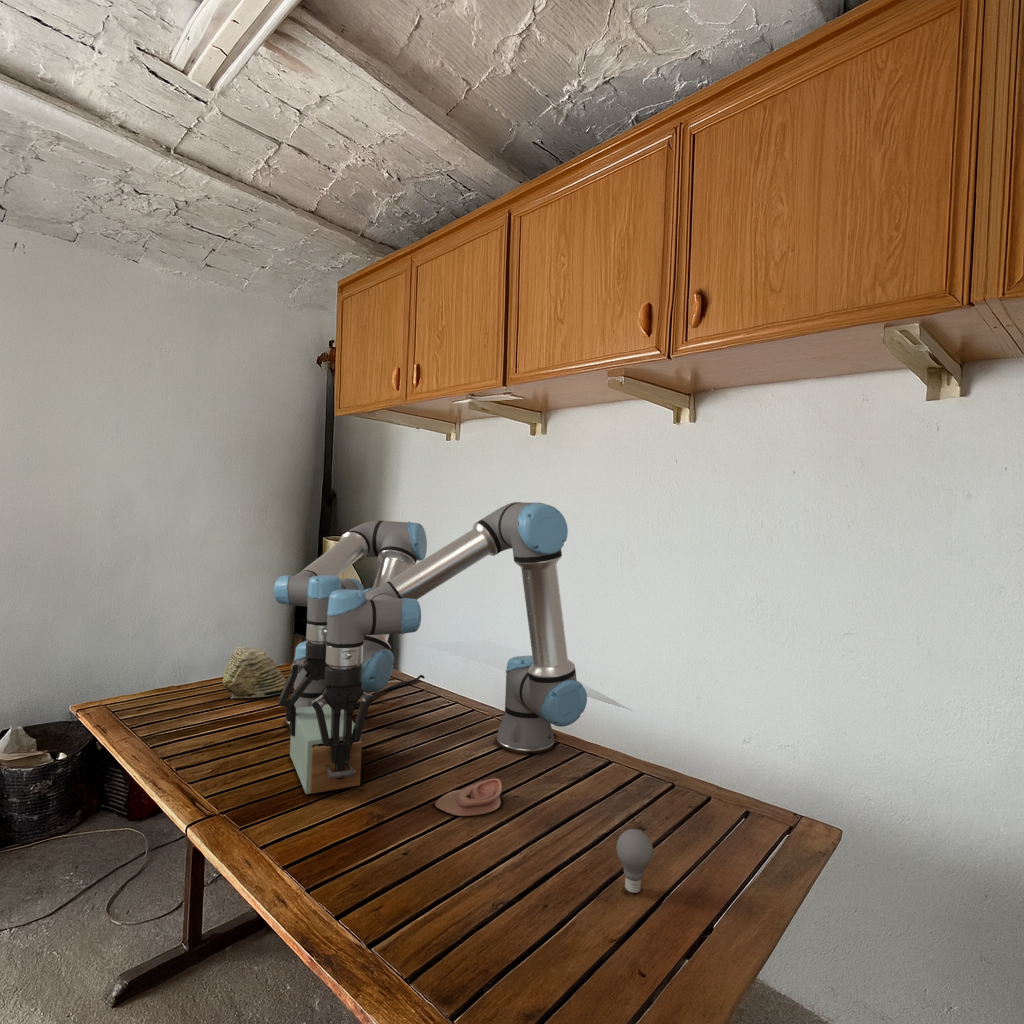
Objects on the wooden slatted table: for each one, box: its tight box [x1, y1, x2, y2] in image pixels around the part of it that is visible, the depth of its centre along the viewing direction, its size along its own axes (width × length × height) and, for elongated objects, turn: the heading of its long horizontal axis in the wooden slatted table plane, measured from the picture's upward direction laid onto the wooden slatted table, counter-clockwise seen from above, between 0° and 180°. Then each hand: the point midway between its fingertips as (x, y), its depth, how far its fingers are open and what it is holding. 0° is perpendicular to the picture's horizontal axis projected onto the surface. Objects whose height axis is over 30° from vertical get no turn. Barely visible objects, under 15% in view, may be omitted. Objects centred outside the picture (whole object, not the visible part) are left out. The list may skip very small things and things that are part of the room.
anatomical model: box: [434, 778, 503, 817], centre depth 133 cm, size 13×4×12 cm
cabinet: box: [289, 704, 363, 795], centre depth 147 cm, size 22×12×12 cm, turn 28°
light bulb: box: [615, 828, 654, 894], centre depth 106 cm, size 6×6×10 cm
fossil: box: [222, 646, 287, 699], centre depth 198 cm, size 9×18×15 cm, turn 132°
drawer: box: [310, 741, 363, 794], centre depth 142 cm, size 26×10×10 cm, turn 28°
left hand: (319, 730), depth 152 cm, fingers closed on cabinet, 12 cm apart
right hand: (339, 776), depth 133 cm, fingers closed
